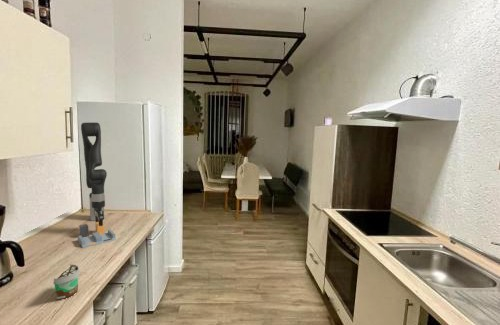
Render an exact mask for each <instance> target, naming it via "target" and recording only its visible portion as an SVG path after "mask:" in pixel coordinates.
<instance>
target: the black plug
mask: <svg viewBox="0 0 500 325" xmlns="http://www.w3.org/2000/svg"><path fill="white" fill-rule="evenodd" d="M80 235H81V236H82V238H85V237H90V236H89V225H88V224H87V223H86V224H80V225H79V236H80Z"/></svg>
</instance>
